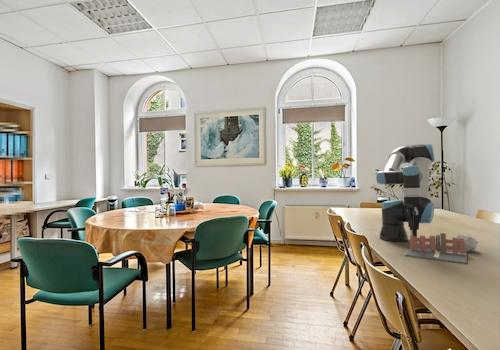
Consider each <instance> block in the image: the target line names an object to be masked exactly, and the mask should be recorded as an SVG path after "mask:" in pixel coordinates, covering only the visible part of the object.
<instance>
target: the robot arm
mask: <svg viewBox="0 0 500 350" xmlns="http://www.w3.org/2000/svg"><path fill="white" fill-rule="evenodd" d="M433 162H435V153H434V149H433V145H432V144H430V143H421V144H411V145H409V144H408V145H402V146H399V147H397V148H395V149H393V150H392V151H391V152H390V154H389V155H388V158H387V163H386V165H385V168H384V169H383V170H379V171H377V172H376V176H375V177H376V178H375V179H376V183H377V184H379V185H403V187H402V188H403V189H402V192H403V199H393V200H386V201H383V202H382V203H381V221H382V223H381V224H382V226H381V229H380V232H379V239H381V240H384V241H390V242H407V241H408V240H409V236H410V235H414V236H415V238H418V230H420V224H422V225H423V224H431V223H432V222H433V220H434V214H435V204H434V202H432V200H431V199H430V197H429V179H430V178H429V175H430V174H429V169H430V166H432V164H433ZM403 164H410V165H407V166H403V167H402V169H401V170H400V168H401V166H402V165H403ZM405 223H407V225H408V228H409V230H410V231H409V233H410V235H409V236H408V234H407V231H406V228H405ZM415 244H419V242H415Z"/></svg>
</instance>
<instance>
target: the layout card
mask: <svg viewBox="0 0 500 350" xmlns="http://www.w3.org/2000/svg"><path fill="white" fill-rule="evenodd" d="M404 256H405V257H412V258H419V259H426V260H434V261H439V260H440V261H442V262H447V261H448V262H447V263H454V262H455V263H456V264H460V265H461V264H464V265H467V264H468V263H467V262H468V261H467V260H468V252H465V254H461V253H460V251H458V253H453V250H449V249H446V253H444V252H441V248H440V251H431V250H430V248H425V250H420V248H416V250H411V247H410V248H409V249H408V250H407V252H406V253H405V254H404Z"/></svg>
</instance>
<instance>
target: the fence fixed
mask: <svg viewBox="0 0 500 350" xmlns="http://www.w3.org/2000/svg"><path fill="white" fill-rule="evenodd" d="M439 235H440V249H441V252H444V253H446V250H453V253H458V251H460V253H461V254H465V248H464V238H459V240H457V237H454V236H453V237H451V239H448V238H447V234H446V232H440V234H439ZM448 244H452V245H448ZM457 244H459V246H460V247H458V246H457Z"/></svg>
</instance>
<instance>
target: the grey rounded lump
mask: <svg viewBox="0 0 500 350" xmlns="http://www.w3.org/2000/svg"><path fill="white" fill-rule="evenodd" d="M456 238H457V240H459V238H464V248H465V252H467V253H468V252H471V251H472V252H475V251H476V248H477V246H478V245H479V241H477V240H476V239H475V238H474V237H473V236H472V235H469V234H458V236H457V237H456ZM457 246H458V247H460V246H459V244H457ZM472 252H471V253H472Z"/></svg>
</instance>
